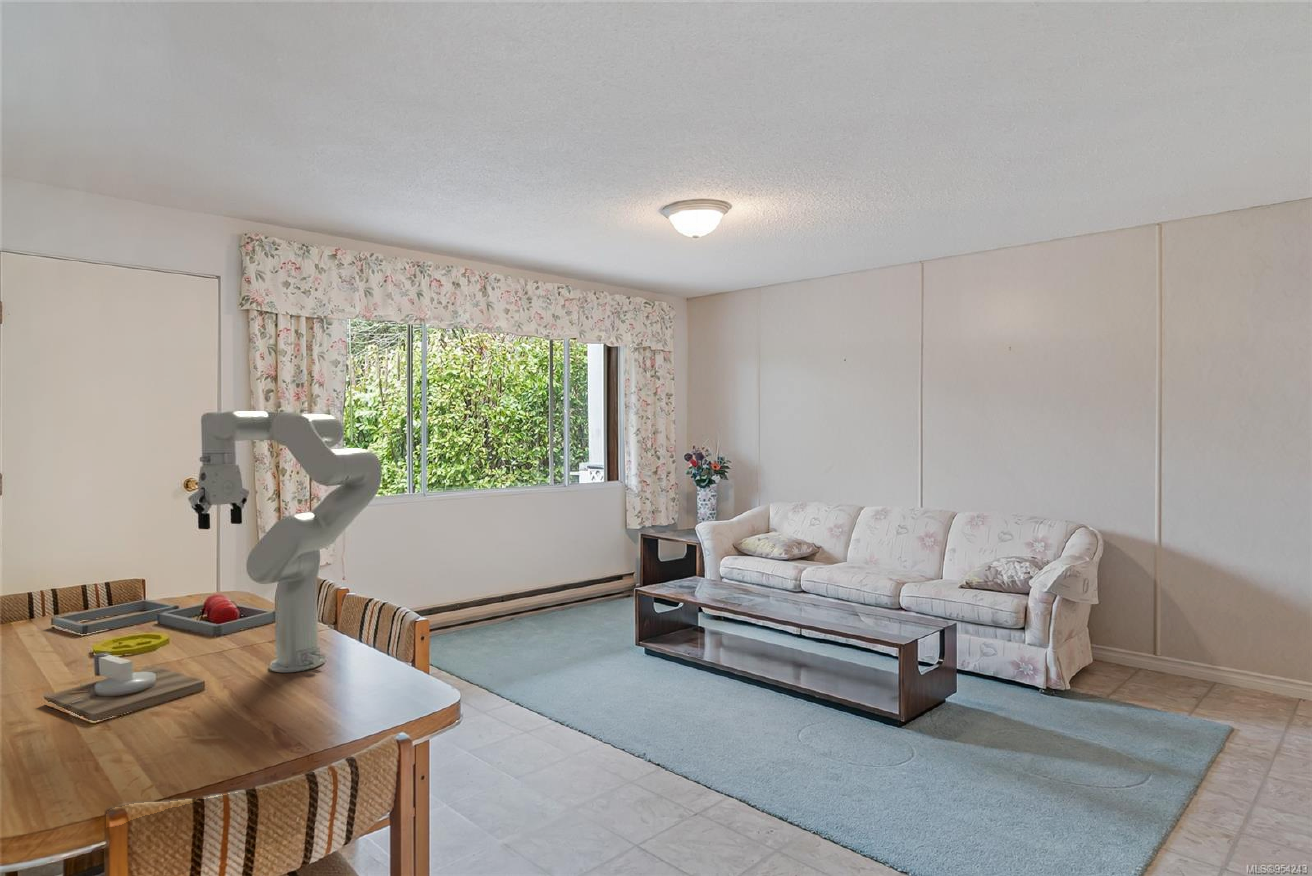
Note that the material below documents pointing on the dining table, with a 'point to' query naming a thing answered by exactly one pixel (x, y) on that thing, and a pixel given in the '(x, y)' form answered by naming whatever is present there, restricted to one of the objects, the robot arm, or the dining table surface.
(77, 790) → the dining table surface
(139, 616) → the tray
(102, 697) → the dial plate
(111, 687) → the dial
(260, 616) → the tray
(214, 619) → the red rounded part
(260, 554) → the robot arm
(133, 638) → the decorative disc
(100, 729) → the dining table surface
